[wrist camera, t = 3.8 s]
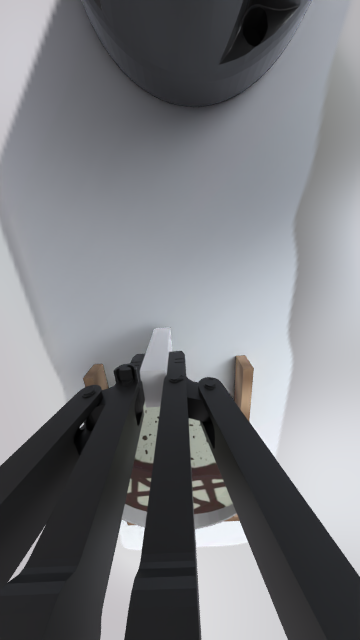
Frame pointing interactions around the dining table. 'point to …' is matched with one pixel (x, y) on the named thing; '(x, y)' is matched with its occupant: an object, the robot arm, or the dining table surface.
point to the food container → (206, 477)
